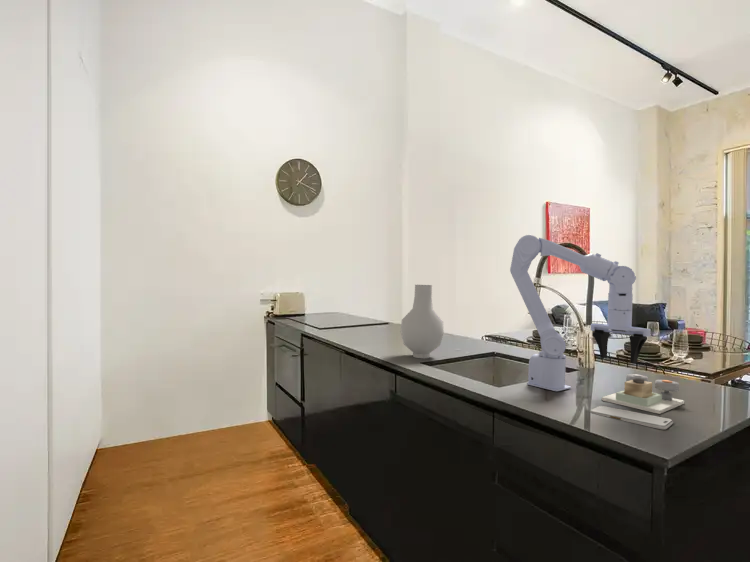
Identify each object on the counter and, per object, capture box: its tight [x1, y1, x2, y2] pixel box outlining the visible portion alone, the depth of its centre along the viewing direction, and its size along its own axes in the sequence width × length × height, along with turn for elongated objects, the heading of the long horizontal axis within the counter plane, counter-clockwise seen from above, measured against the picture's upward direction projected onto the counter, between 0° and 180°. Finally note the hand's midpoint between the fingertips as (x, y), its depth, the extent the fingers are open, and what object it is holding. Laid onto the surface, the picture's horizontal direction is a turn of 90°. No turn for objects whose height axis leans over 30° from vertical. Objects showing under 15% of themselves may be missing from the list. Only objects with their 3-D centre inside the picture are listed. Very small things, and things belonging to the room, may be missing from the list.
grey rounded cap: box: [654, 379, 680, 393], centre depth 108 cm, size 5×5×3 cm
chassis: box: [601, 373, 685, 415], centre depth 107 cm, size 13×16×6 cm
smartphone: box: [589, 405, 674, 430], centre depth 94 cm, size 7×1×15 cm
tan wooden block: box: [623, 378, 653, 398], centre depth 106 cm, size 4×6×5 cm, turn 127°
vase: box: [400, 284, 445, 359], centre depth 163 cm, size 17×16×28 cm
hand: (618, 359), depth 114 cm, fingers open, 7 cm apart
